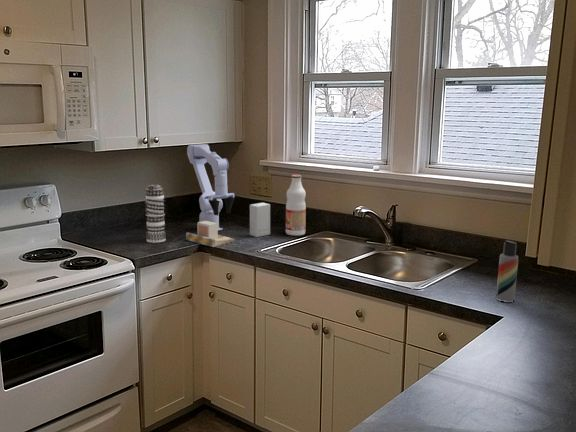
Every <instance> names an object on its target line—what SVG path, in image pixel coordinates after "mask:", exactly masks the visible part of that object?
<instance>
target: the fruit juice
mask: <svg viewBox="0 0 576 432" xmlns="http://www.w3.org/2000/svg"><path fill="white" fill-rule="evenodd" d="M290 179H291V182H290V185H289V188H288V189H287V190H286V199H287V200H286V204H285V233H286V235H289V236H303V235H305V234H306V225H307V224H306V223H307V221H306V216H307V213H306V212H307V211H306V210H307V207H306V206H307V205H306V201H305V199H306V196H307V195H306V194H307V193H306V190H305V188H304V187H303V183H302V175H301V174H292V175H291V177H290Z"/></svg>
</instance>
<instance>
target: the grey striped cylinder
mask: <svg viewBox="0 0 576 432" xmlns="http://www.w3.org/2000/svg"><path fill="white" fill-rule="evenodd" d="M144 189H145V201H144V208H145V210H144V211H145V213H144V214H145V216H146V225H145V228H146V229H145V231H146V233H145V234H146V236H145V238H146V242H147V243H153V244H154V243H155V244H156V243H162V242H163V243H164V242H165V241H166V240H167V239H166V237H167V236H166V234H167V233H166V229H167V228H166V226H167V225H166V223H165V215H166V212H164V211H165V210H166V208H165V207H166V204H164V203H165V202H166V197H165V195H164V187H163V186H162V185H161V184H156V183H155V184H154V183H153V184H148V185H147V186H146V188H144Z"/></svg>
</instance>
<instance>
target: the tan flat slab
mask: <svg viewBox="0 0 576 432" xmlns="http://www.w3.org/2000/svg"><path fill="white" fill-rule="evenodd" d="M185 234H186V235H185V237H186V238H185V240H187V241H189V242H192V243H197V244H200V245H204V246H208V247H212V248H215V247H218V246H223V245H226V243H227V244H231V243H230V242H232V243H235V242H236V238H232V237H229V236H224V235H222V234H218V239H212V238H208V237H204V236H200V235H197V234H196V233H192V232H186V233H185ZM234 241H235V242H234ZM222 244H223V245H222Z"/></svg>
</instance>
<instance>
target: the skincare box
mask: <svg viewBox="0 0 576 432" xmlns="http://www.w3.org/2000/svg"><path fill="white" fill-rule="evenodd" d="M269 235H271V204H270V203H266V202H258V203H252V204H249V236H253V237H255V238H258V237H260V238H261V237H263V236H269Z"/></svg>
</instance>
